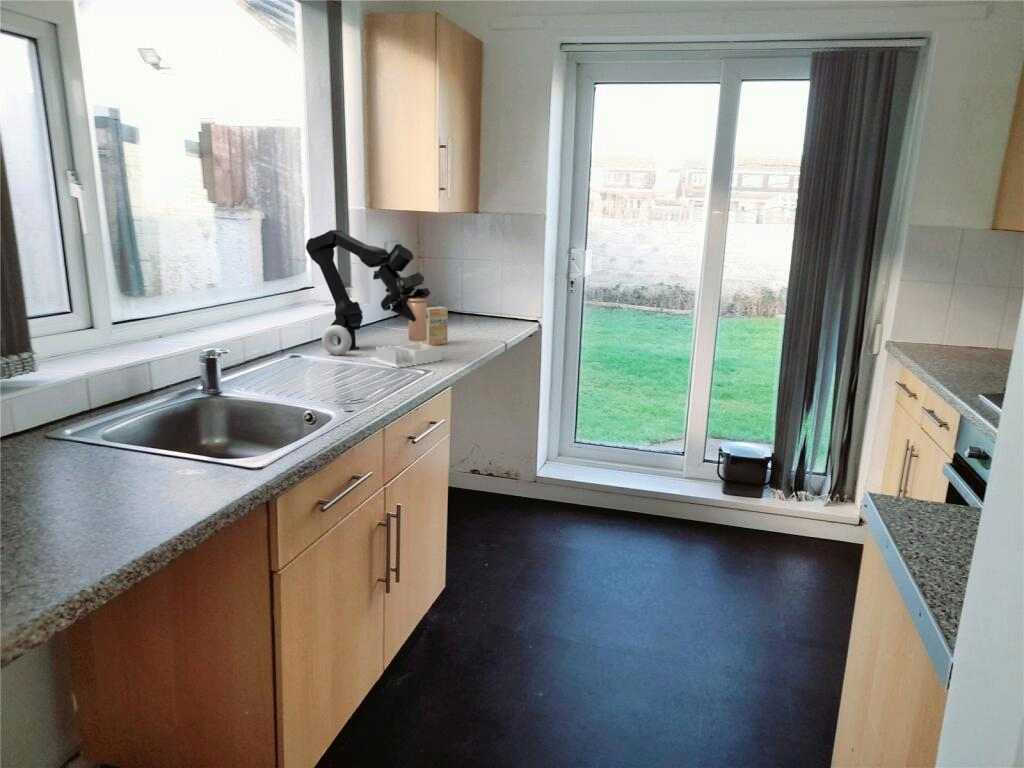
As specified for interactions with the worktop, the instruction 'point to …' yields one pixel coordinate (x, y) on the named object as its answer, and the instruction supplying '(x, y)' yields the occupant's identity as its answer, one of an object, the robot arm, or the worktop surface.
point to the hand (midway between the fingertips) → (421, 319)
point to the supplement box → (437, 325)
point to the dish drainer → (407, 354)
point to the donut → (343, 336)
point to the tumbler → (418, 319)
